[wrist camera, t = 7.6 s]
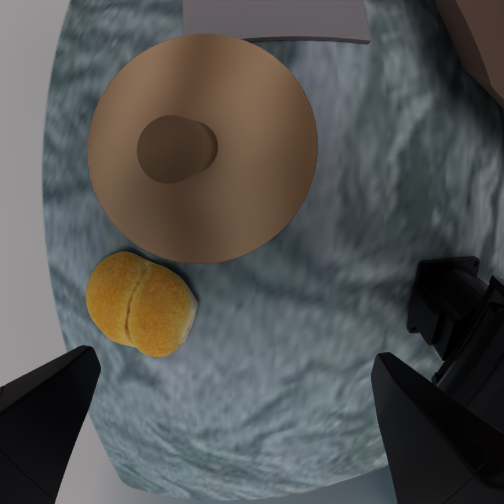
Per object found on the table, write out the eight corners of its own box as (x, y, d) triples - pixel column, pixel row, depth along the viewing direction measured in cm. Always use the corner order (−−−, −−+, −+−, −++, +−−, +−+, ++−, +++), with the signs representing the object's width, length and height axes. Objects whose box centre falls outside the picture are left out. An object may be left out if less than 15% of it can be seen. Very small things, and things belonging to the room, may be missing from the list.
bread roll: (103, 235, 21) (75, 253, 17) (209, 277, 22) (198, 305, 18) (92, 316, 24) (71, 341, 20) (182, 355, 24) (171, 386, 21)
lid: (304, 32, 12) (317, -6, 8) (317, 251, 16) (334, 289, 12) (91, 68, 13) (44, 54, 8) (114, 261, 17) (77, 296, 13)
